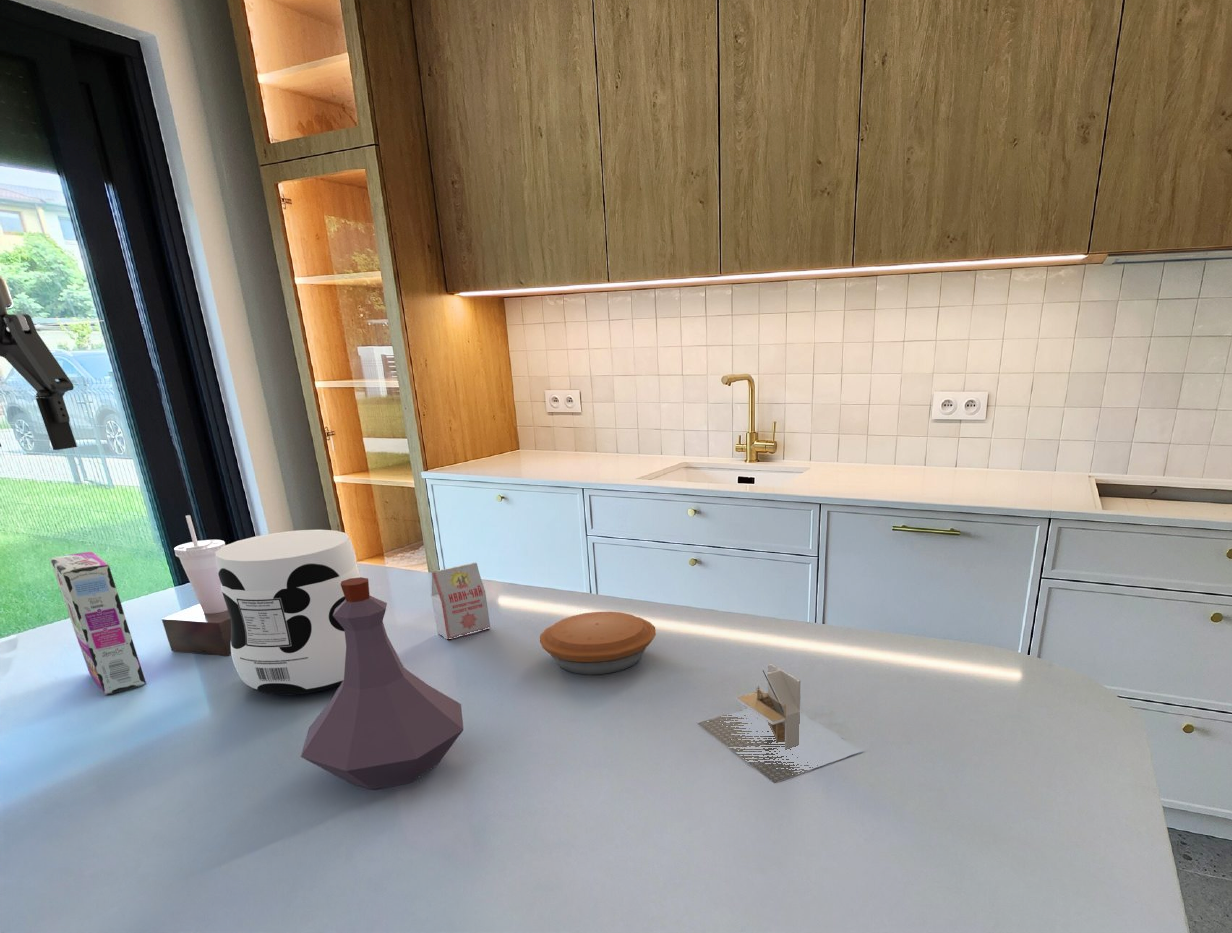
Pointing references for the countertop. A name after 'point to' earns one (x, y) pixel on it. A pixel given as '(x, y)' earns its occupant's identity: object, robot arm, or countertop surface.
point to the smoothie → (203, 570)
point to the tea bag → (459, 601)
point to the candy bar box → (98, 621)
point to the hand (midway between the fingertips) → (26, 448)
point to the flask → (379, 706)
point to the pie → (597, 641)
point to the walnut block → (199, 631)
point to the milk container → (287, 608)
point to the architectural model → (781, 717)
